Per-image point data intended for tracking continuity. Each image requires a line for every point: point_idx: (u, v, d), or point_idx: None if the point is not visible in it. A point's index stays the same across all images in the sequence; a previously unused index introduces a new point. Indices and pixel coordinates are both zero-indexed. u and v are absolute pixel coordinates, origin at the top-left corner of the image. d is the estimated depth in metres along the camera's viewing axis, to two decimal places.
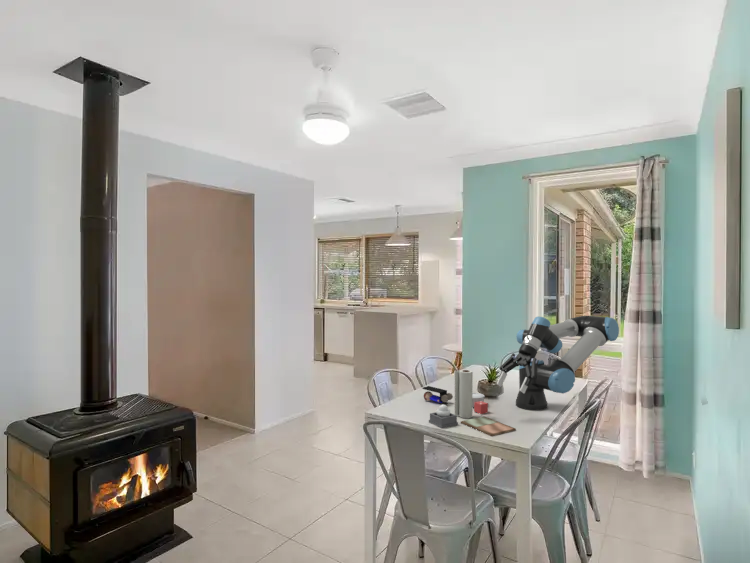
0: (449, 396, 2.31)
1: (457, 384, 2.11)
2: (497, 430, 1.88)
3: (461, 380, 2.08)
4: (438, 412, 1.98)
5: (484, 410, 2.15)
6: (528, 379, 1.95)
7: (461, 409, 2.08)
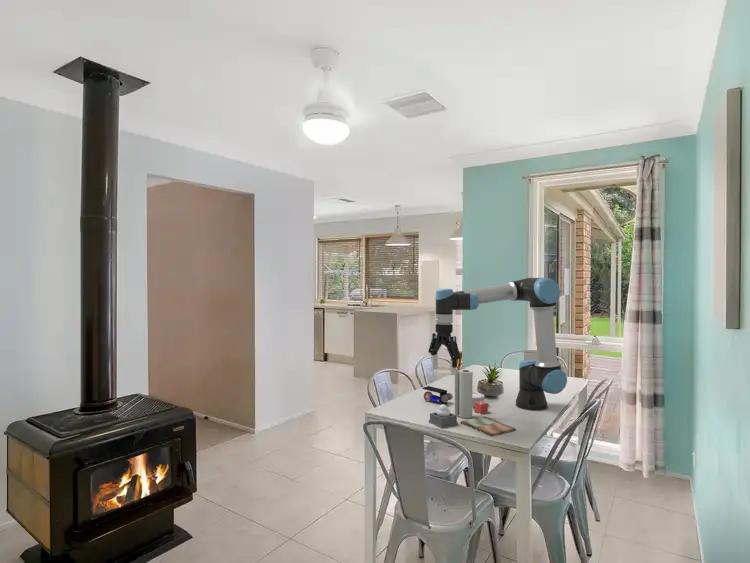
0: (449, 396, 2.31)
1: (457, 384, 2.11)
2: (497, 430, 1.88)
3: (461, 380, 2.08)
4: (438, 412, 1.98)
5: (484, 410, 2.15)
6: (453, 361, 1.93)
7: (461, 409, 2.08)
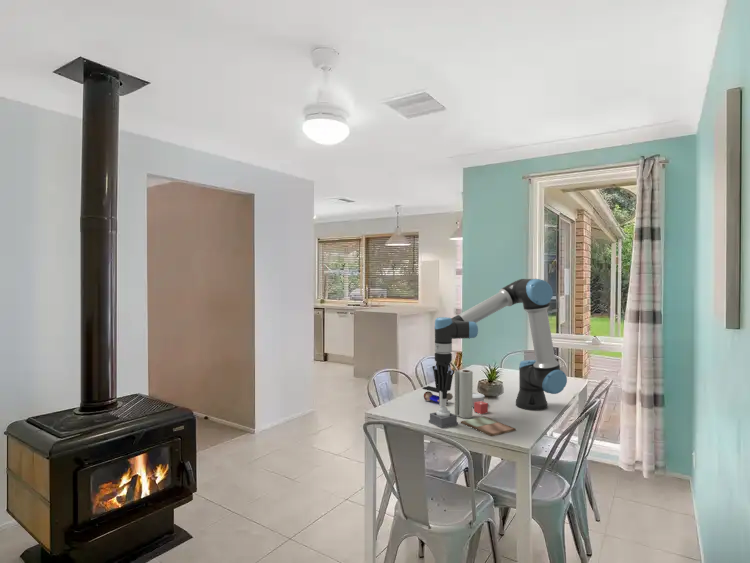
0: (449, 396, 2.31)
1: (457, 384, 2.11)
2: (497, 430, 1.88)
3: (461, 380, 2.08)
4: (438, 413, 1.98)
5: (484, 410, 2.15)
6: (443, 392, 1.99)
7: (461, 409, 2.08)
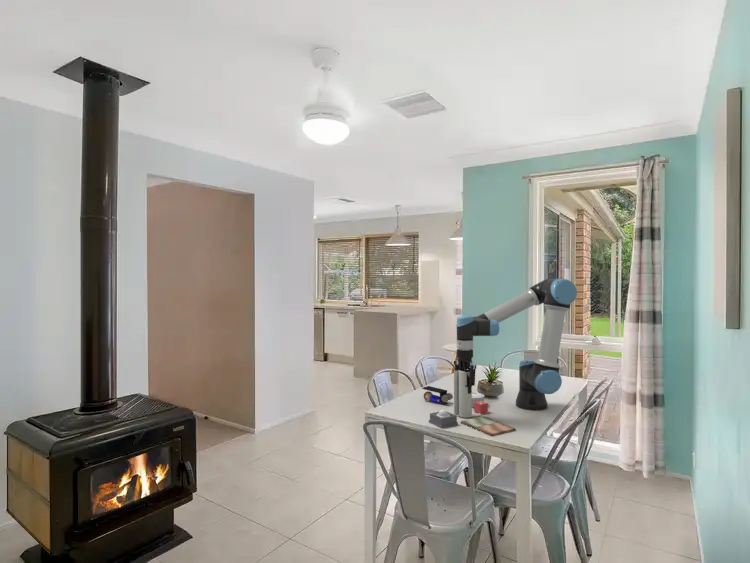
0: (449, 396, 2.31)
1: (456, 384, 2.11)
2: (497, 430, 1.88)
3: (460, 380, 2.08)
4: None
5: (484, 410, 2.15)
6: (468, 387, 2.07)
7: (460, 409, 2.08)
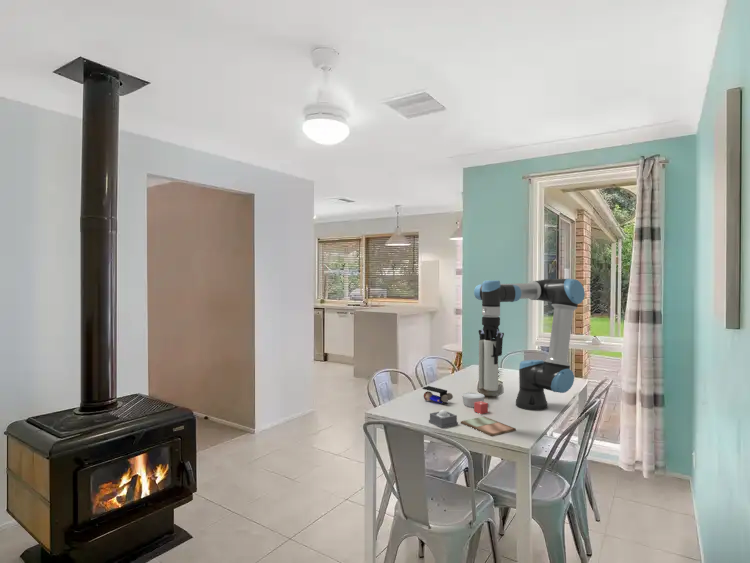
0: (449, 396, 2.31)
1: (481, 354, 1.95)
2: (497, 430, 1.88)
3: (486, 349, 1.92)
4: None
5: (484, 410, 2.15)
6: (494, 358, 1.91)
7: (486, 381, 1.92)
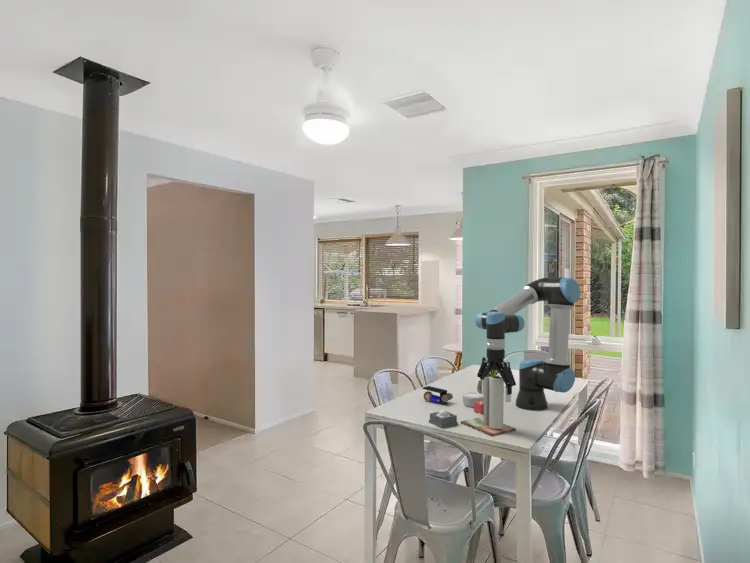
0: (449, 396, 2.31)
1: (486, 392, 1.93)
2: (497, 430, 1.88)
3: (491, 387, 1.90)
4: None
5: None
6: (508, 388, 1.85)
7: (491, 419, 1.90)
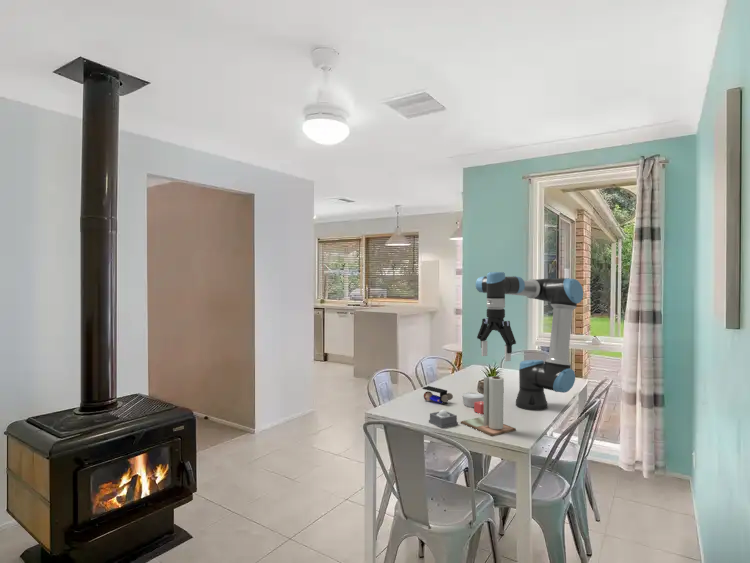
0: (449, 396, 2.31)
1: (486, 392, 1.93)
2: (497, 430, 1.88)
3: (491, 388, 1.90)
4: None
5: None
6: (508, 346, 1.84)
7: (491, 420, 1.90)
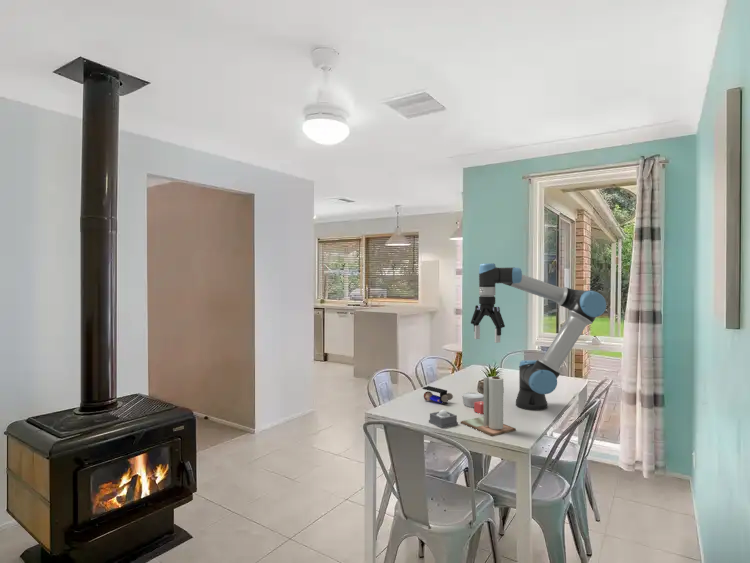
0: (449, 396, 2.31)
1: (486, 392, 1.93)
2: (497, 430, 1.88)
3: (491, 388, 1.90)
4: None
5: None
6: (498, 329, 2.07)
7: (491, 420, 1.90)
